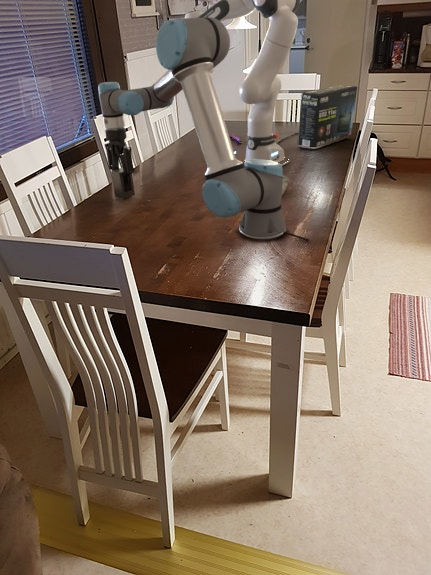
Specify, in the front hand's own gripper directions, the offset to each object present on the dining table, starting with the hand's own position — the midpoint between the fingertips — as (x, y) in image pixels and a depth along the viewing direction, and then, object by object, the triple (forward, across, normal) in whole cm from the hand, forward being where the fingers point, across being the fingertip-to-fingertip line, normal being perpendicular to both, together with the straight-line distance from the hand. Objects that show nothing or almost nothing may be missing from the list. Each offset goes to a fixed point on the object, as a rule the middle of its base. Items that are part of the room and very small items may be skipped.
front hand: (124, 189), depth 180 cm
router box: (+4, +19, +119) cm, 121 cm away
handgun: (+3, -27, +96) cm, 99 cm away
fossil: (+4, +40, +40) cm, 57 cm away
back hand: (-30, -25, +69) cm, 79 cm away
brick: (+3, 0, 0) cm, 3 cm away
